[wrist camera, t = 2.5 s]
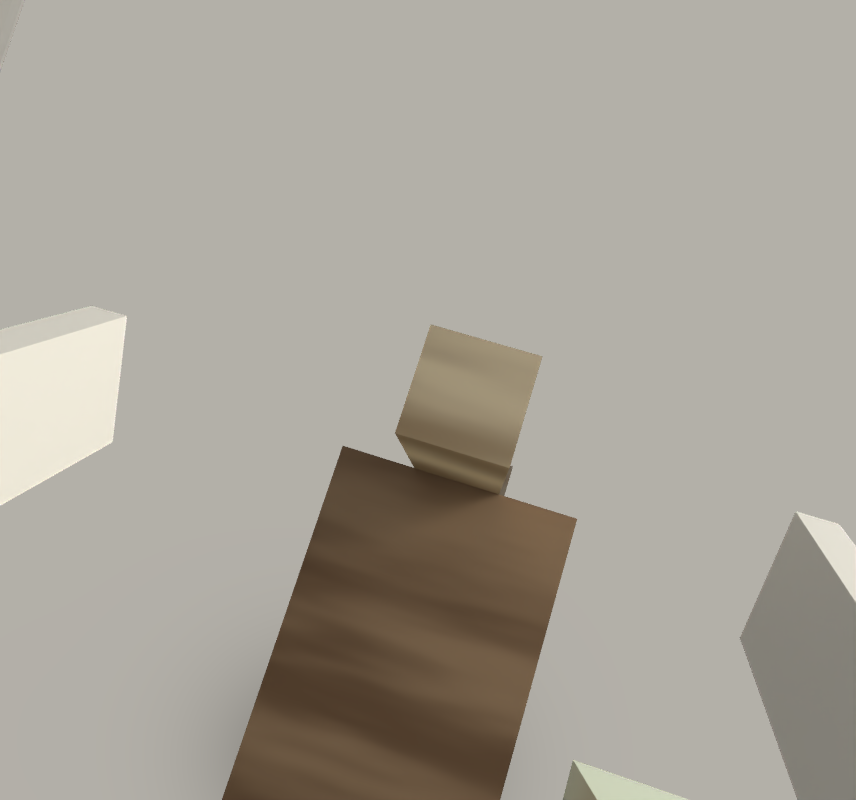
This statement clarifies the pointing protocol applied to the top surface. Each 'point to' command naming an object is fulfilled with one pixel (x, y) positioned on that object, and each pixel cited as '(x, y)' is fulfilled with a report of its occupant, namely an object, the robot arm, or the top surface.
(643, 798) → the pale green rectangular prism
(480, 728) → the stand
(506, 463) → the light wooden bar
